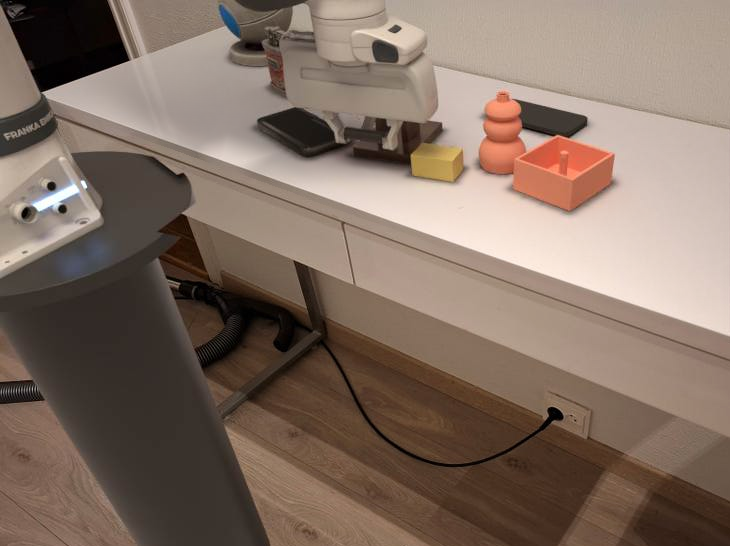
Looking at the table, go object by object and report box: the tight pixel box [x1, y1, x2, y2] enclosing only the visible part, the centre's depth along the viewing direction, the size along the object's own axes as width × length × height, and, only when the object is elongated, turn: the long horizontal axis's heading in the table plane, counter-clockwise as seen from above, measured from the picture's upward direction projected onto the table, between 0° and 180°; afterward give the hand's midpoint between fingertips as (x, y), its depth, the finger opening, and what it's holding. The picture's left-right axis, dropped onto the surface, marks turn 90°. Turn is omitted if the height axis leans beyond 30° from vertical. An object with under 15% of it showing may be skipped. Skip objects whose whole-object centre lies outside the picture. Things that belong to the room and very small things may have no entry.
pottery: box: [478, 90, 616, 212], centre depth 88 cm, size 18×10×10 cm, turn 49°
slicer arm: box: [343, 116, 385, 144], centre depth 90 cm, size 14×6×2 cm
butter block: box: [410, 143, 465, 183], centre depth 91 cm, size 4×6×3 cm, turn 71°
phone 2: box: [485, 98, 589, 138], centre depth 104 cm, size 7×1×15 cm
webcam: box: [217, 0, 294, 67], centre depth 124 cm, size 13×13×15 cm
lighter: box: [262, 26, 287, 98], centre depth 112 cm, size 8×3×10 cm, turn 42°
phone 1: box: [256, 106, 346, 157], centre depth 101 cm, size 8×1×15 cm
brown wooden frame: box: [352, 118, 444, 165], centre depth 95 cm, size 12×9×14 cm
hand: (367, 145), depth 90 cm, fingers closed on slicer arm, 5 cm apart
